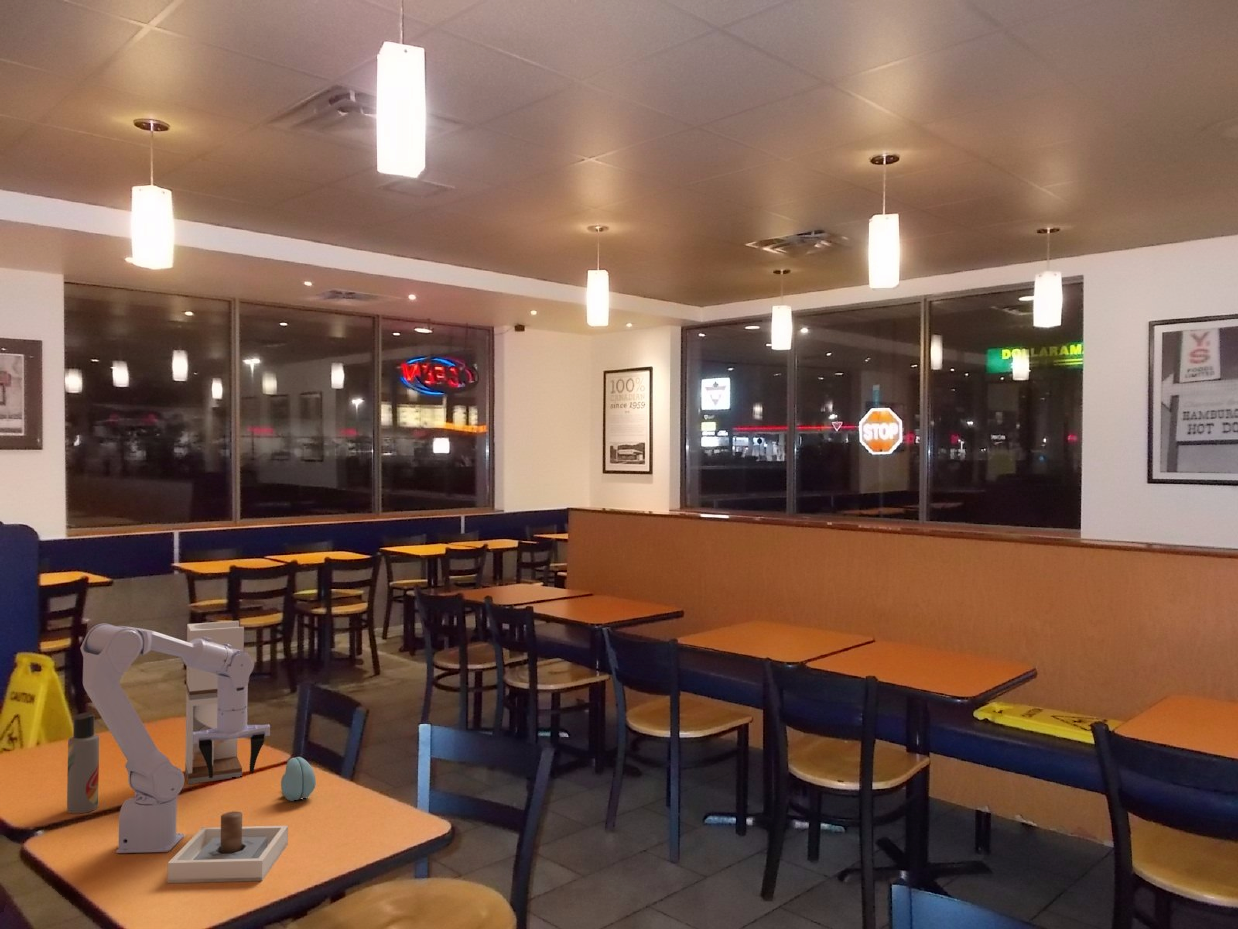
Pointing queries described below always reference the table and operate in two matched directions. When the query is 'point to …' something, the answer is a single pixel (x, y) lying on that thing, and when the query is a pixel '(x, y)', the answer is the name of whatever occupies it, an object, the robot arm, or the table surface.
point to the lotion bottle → (83, 766)
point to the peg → (231, 832)
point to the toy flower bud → (298, 779)
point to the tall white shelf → (209, 708)
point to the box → (228, 856)
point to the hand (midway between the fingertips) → (231, 774)
